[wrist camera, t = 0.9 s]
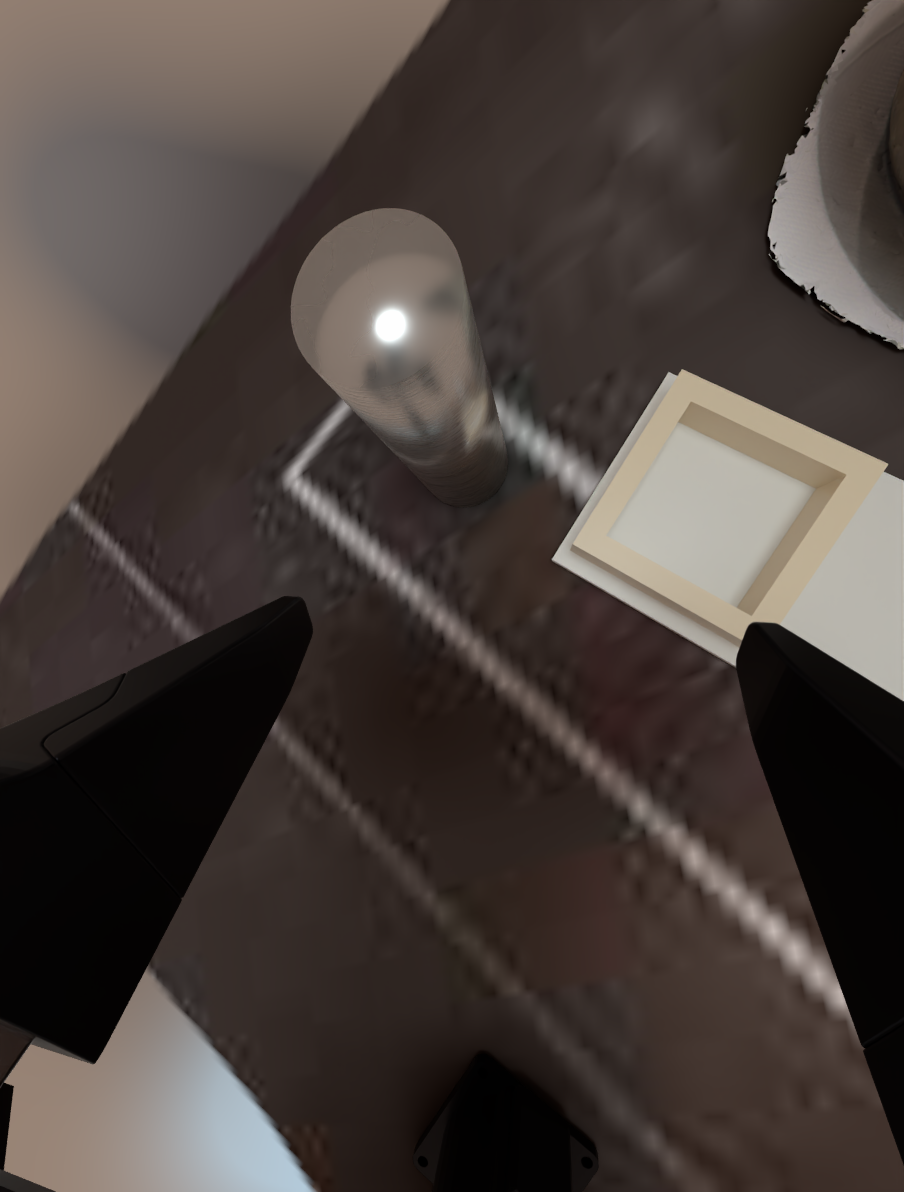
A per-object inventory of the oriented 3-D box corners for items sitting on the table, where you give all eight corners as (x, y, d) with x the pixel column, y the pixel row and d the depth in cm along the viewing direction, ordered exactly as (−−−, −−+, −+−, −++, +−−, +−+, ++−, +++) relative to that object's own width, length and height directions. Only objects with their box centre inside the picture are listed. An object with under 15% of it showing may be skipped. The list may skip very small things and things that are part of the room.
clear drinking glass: (478, 523, 23) (400, 419, 11) (407, 482, 24) (260, 342, 11) (524, 446, 22) (499, 249, 10) (451, 407, 23) (347, 181, 11)
